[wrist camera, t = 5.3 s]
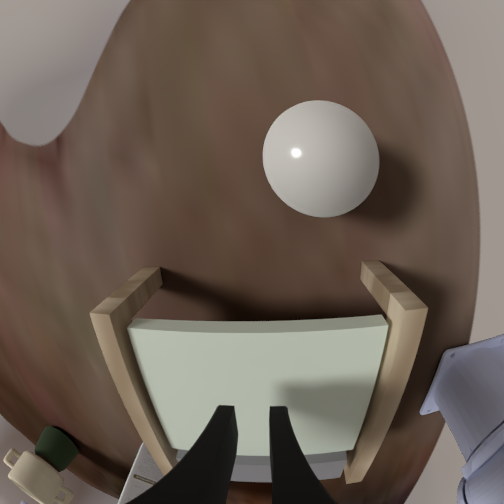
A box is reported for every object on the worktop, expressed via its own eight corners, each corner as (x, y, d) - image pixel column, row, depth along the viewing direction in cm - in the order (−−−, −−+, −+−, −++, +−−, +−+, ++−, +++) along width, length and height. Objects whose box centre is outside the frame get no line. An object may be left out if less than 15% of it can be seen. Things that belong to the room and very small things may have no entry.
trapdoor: (343, 457, 16) (346, 476, 14) (183, 456, 16) (178, 474, 15) (381, 314, 12) (394, 334, 10) (135, 317, 13) (119, 336, 11)
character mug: (37, 424, 27) (1, 473, 15) (35, 405, 25) (-9, 460, 13) (92, 462, 28) (63, 518, 16) (96, 449, 26) (61, 514, 14)
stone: (345, 122, 14) (375, 104, 10) (348, 203, 16) (379, 216, 11) (263, 122, 15) (259, 101, 10) (267, 204, 16) (265, 218, 11)
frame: (379, 260, 16) (428, 307, 10) (348, 424, 21) (361, 481, 14) (143, 267, 18) (89, 313, 11) (184, 424, 22) (166, 479, 16)
